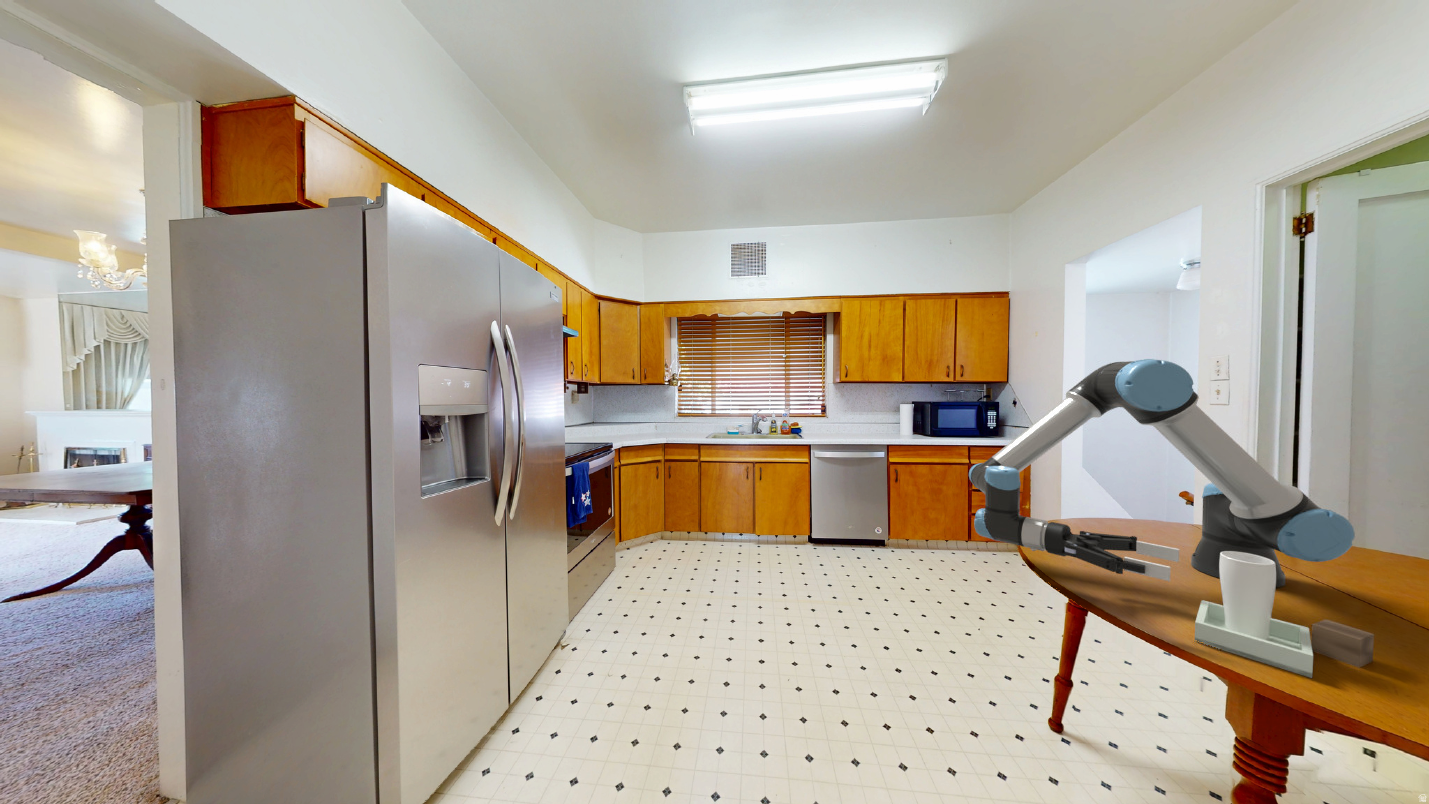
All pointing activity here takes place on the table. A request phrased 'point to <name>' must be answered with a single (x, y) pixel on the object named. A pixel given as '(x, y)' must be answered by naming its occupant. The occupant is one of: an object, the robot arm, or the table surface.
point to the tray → (1257, 641)
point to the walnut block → (1342, 643)
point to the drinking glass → (1247, 592)
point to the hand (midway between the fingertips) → (1175, 564)
